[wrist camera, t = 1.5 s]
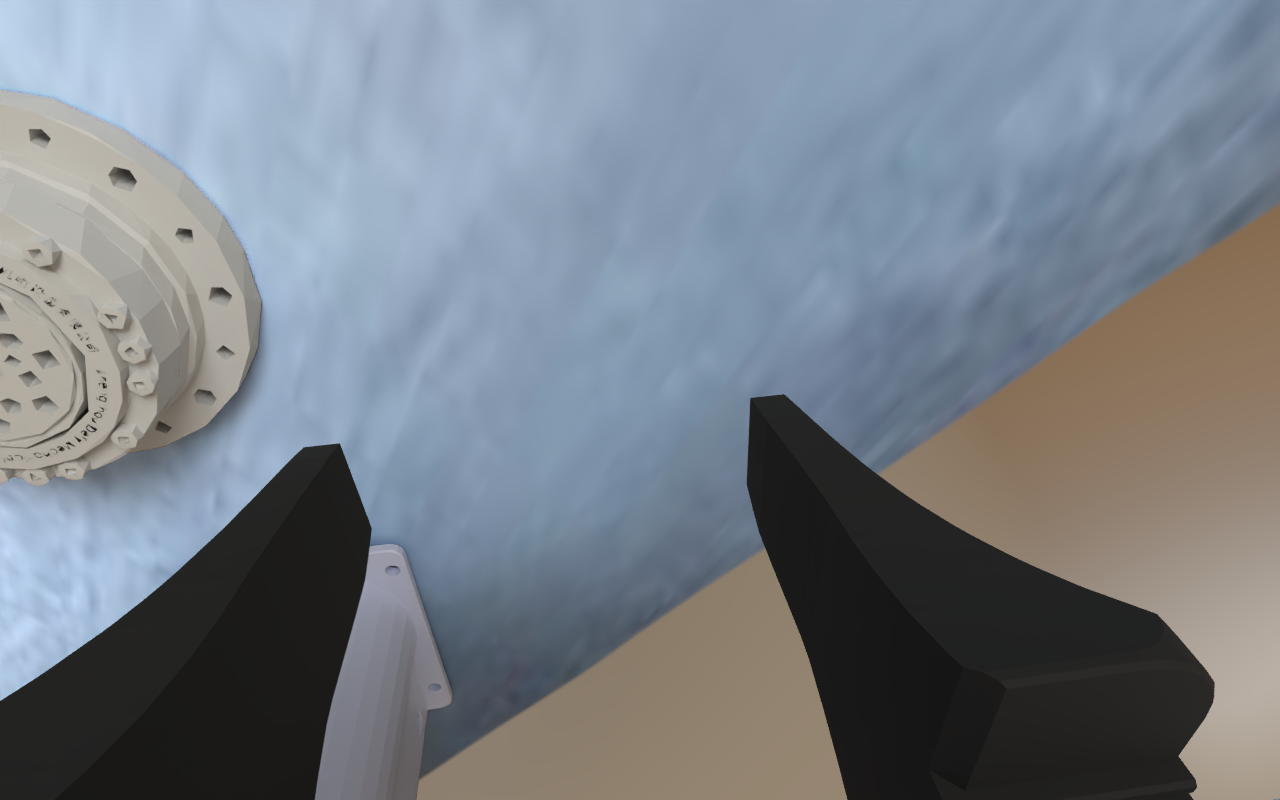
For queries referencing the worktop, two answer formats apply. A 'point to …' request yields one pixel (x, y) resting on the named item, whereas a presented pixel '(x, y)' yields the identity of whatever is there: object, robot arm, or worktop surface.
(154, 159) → the mechanical component
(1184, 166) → the worktop surface
